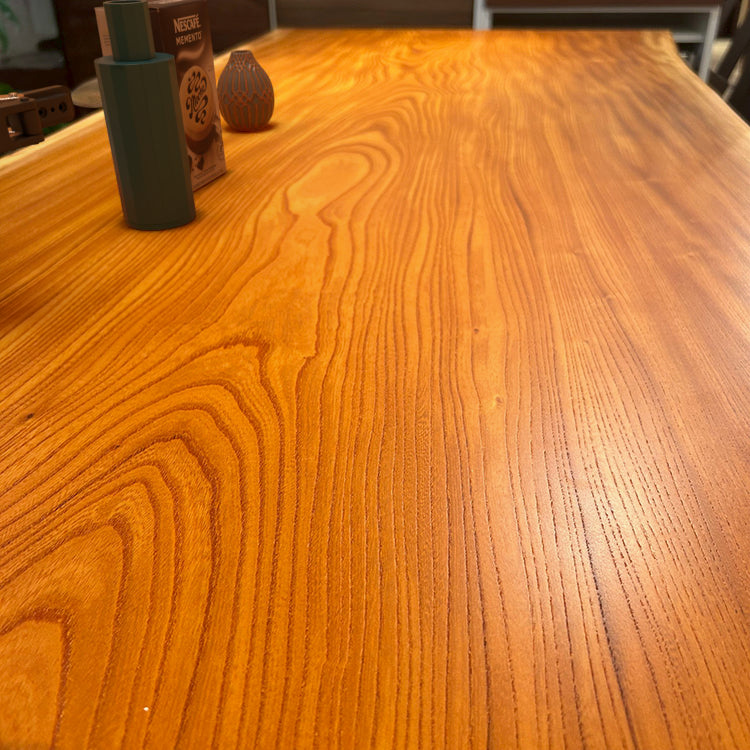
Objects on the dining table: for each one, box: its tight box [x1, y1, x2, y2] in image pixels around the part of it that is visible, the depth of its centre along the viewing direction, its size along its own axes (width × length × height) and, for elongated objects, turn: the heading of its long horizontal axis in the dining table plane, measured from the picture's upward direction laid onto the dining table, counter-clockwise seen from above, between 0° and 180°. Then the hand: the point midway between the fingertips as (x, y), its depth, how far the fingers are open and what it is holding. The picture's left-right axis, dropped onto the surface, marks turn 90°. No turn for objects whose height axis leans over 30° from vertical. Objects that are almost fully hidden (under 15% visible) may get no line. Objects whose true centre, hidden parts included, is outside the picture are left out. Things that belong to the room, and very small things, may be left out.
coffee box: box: [94, 0, 227, 192], centre depth 72 cm, size 9×6×16 cm
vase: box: [216, 49, 276, 132], centre depth 93 cm, size 7×7×9 cm
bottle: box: [93, 0, 197, 231], centre depth 63 cm, size 6×6×17 cm
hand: (25, 96), depth 53 cm, fingers open, 8 cm apart
